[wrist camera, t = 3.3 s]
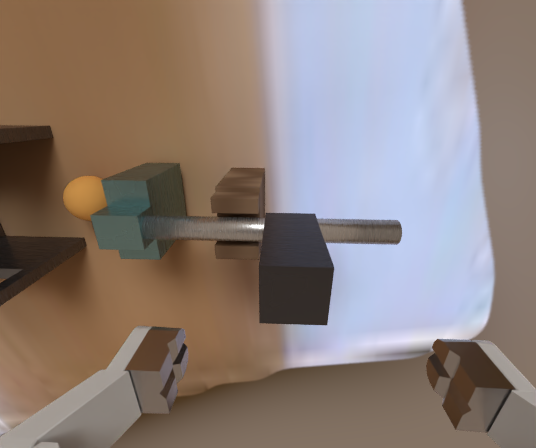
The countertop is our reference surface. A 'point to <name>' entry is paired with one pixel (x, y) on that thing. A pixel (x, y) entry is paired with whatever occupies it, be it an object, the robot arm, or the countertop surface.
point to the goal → (30, 248)
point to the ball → (84, 197)
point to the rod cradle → (240, 208)
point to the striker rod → (234, 239)
